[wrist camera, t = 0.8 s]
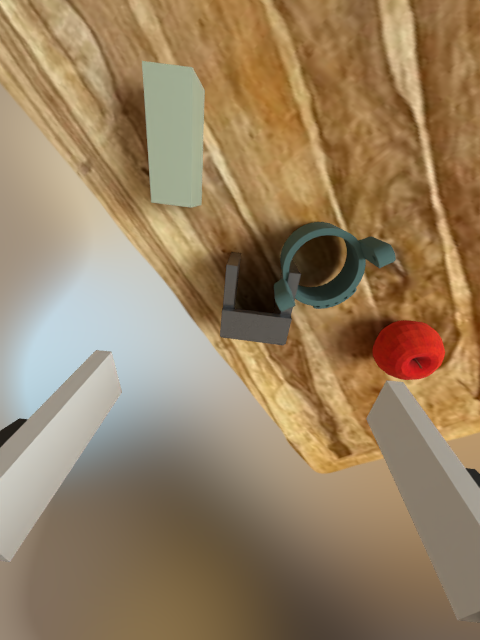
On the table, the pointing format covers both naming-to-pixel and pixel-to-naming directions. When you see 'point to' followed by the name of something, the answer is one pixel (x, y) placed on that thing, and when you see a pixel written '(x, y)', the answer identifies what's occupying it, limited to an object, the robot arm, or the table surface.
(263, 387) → the table surface
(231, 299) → the endcap
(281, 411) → the table surface
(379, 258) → the bracket
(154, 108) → the block
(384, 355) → the apple
